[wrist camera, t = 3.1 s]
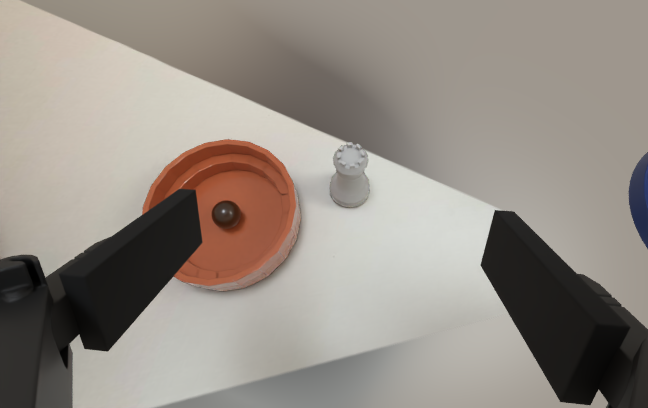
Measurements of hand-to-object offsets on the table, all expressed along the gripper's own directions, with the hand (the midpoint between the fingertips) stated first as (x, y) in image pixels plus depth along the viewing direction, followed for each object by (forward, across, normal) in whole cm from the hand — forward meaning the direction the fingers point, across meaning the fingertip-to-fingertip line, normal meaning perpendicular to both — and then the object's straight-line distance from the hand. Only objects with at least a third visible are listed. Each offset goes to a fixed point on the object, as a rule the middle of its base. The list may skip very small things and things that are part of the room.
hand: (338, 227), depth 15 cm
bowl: (+19, -12, -10) cm, 25 cm away
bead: (+17, -12, -8) cm, 23 cm away
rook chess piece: (+22, 0, -7) cm, 23 cm away
